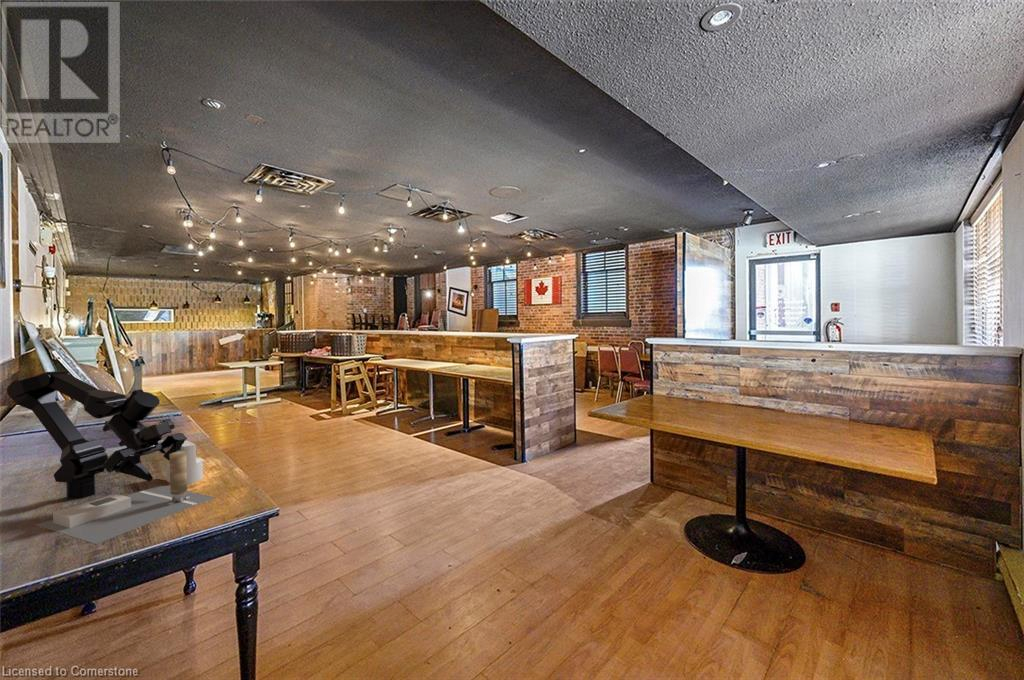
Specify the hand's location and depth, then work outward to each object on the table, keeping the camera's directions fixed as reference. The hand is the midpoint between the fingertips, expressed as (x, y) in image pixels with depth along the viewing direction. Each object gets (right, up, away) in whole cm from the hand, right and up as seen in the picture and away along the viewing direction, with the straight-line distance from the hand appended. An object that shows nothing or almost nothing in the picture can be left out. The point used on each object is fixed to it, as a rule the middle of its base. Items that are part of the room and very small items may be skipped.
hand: (168, 473), depth 113 cm
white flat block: (-12, -8, -9) cm, 16 cm away
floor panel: (-4, -9, -6) cm, 11 cm away
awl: (+3, -7, 0) cm, 8 cm away
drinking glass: (-9, -8, +17) cm, 21 cm away
